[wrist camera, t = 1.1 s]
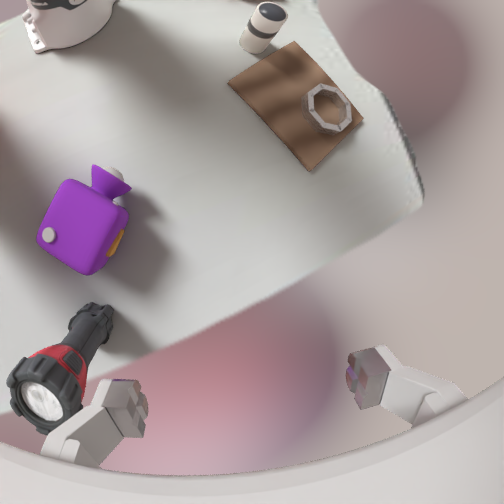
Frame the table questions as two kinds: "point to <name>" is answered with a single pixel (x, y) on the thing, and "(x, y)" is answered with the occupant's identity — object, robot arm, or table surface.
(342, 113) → the ring
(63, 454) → the robot arm
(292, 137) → the walnut mount plate
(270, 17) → the white lens
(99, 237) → the toy camera
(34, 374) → the flashlight
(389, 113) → the table surface
